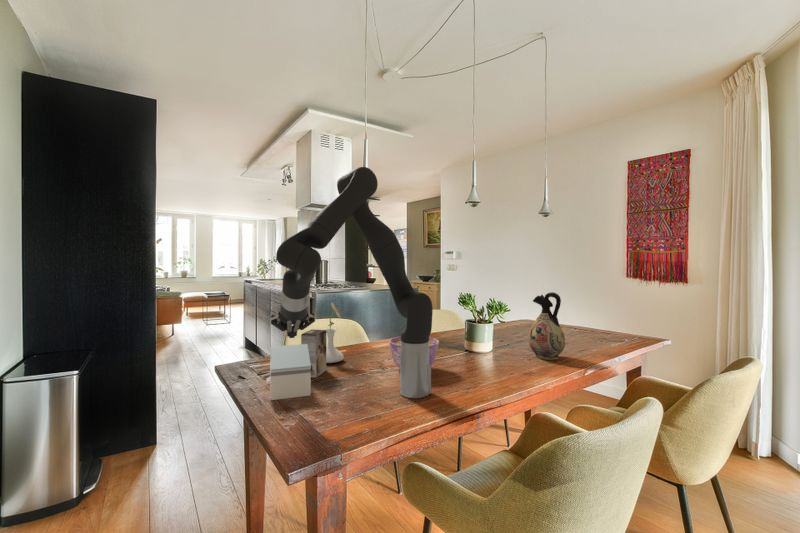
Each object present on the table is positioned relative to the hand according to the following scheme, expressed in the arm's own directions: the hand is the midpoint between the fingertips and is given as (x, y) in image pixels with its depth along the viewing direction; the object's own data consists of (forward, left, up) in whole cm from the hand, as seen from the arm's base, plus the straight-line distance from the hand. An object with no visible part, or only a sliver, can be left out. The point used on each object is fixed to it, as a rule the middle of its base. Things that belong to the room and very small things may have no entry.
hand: (291, 335), depth 111 cm
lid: (0, -7, -8) cm, 11 cm away
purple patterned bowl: (-48, -16, -20) cm, 55 cm away
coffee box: (-10, -24, -20) cm, 33 cm away
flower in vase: (-19, -39, -20) cm, 48 cm away
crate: (0, -7, -20) cm, 21 cm away
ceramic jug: (-112, -12, -20) cm, 115 cm away
